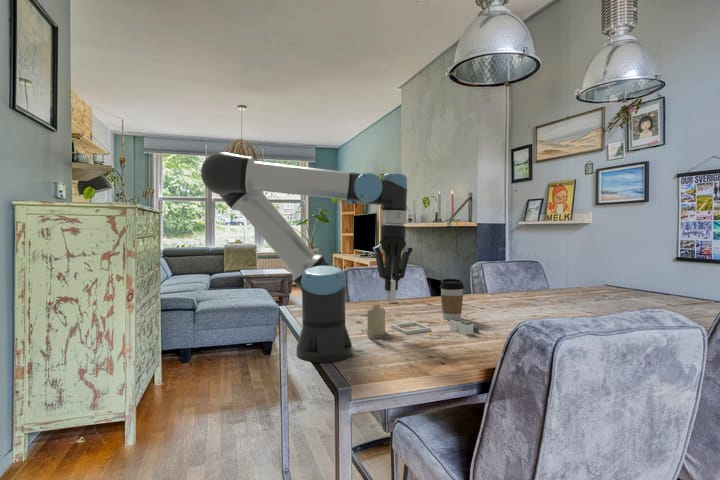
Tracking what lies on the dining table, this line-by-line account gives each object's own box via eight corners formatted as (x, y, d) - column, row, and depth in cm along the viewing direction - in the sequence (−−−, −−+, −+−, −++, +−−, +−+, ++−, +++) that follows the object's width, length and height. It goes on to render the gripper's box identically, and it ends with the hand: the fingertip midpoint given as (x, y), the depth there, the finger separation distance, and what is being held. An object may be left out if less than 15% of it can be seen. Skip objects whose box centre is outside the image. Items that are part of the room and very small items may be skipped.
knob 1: (456, 331, 127) (456, 320, 127) (450, 329, 130) (450, 318, 130) (463, 330, 129) (463, 319, 128) (458, 328, 131) (458, 317, 131)
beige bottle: (383, 339, 124) (383, 307, 124) (366, 338, 126) (365, 306, 125) (386, 334, 130) (386, 303, 129) (369, 334, 131) (369, 303, 131)
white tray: (418, 347, 116) (418, 336, 116) (388, 332, 133) (388, 322, 133) (480, 338, 125) (480, 327, 125) (445, 324, 142) (445, 315, 142)
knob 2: (465, 334, 123) (465, 323, 123) (459, 332, 126) (459, 321, 126) (473, 333, 124) (473, 322, 124) (466, 331, 127) (466, 320, 127)
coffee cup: (462, 319, 149) (462, 278, 148) (465, 325, 140) (465, 282, 140) (438, 319, 150) (438, 278, 149) (441, 325, 141) (440, 282, 140)
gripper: (379, 224, 120) (376, 304, 120) (418, 225, 125) (415, 302, 125) (369, 224, 126) (366, 299, 127) (406, 225, 131) (403, 298, 132)
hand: (390, 301), depth 126 cm, fingers closed
